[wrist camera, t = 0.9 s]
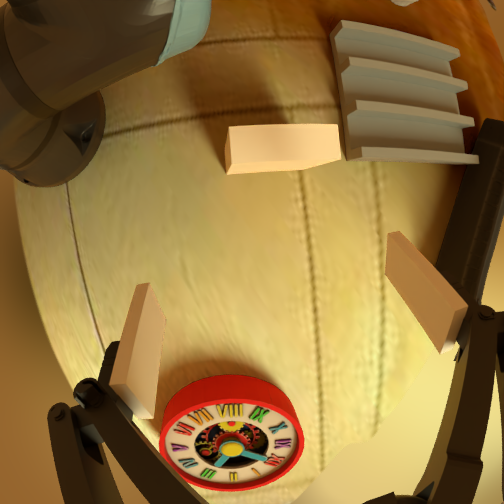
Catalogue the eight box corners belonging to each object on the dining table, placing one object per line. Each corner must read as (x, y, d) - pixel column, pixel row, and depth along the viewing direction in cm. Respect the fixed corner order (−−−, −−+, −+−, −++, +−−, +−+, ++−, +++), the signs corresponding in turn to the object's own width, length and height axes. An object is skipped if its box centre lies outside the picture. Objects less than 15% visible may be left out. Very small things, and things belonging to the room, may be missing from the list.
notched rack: (459, 165, 39) (479, 163, 34) (346, 160, 37) (362, 157, 32) (441, 57, 35) (458, 49, 31) (329, 34, 33) (341, 19, 29)
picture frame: (302, 169, 36) (341, 159, 25) (226, 174, 35) (231, 163, 24) (300, 143, 36) (337, 122, 24) (224, 147, 35) (228, 124, 23)
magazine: (461, 339, 33) (564, 146, 22) (448, 334, 33) (555, 131, 21) (413, 276, 49) (491, 126, 37) (400, 270, 48) (479, 115, 36)
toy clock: (199, 373, 33) (332, 425, 37) (200, 350, 39) (320, 402, 43) (138, 465, 35) (255, 501, 39) (144, 440, 41) (251, 477, 45)
